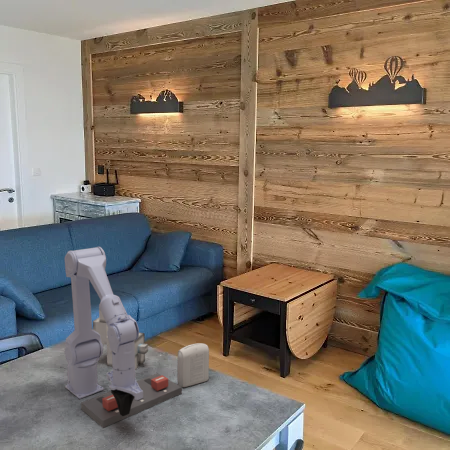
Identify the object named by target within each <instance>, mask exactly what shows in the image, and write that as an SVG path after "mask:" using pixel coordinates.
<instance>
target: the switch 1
mask: <svg viewBox="0 0 450 450" xmlns="http://www.w3.org/2000/svg"><path fill="white" fill-rule="evenodd" d="M102 401H103V407H104V408H105V409H106V410H107V411H110V410H113V409H115V408H117V407H118V405H117V402H116V400H115V398H114V396H113V395H110V396H108V397H105V398H103V399H102Z"/></svg>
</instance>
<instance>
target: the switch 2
mask: <svg viewBox="0 0 450 450" xmlns="http://www.w3.org/2000/svg"><path fill="white" fill-rule="evenodd" d="M160 375H161V376H159V377H156V378H154V379H151V387H152V388H154V389H155V390H157V391H158V390H161V389H163V388H165V387H168V379H169V378H168V377H166V376H164V375H162V374H160Z"/></svg>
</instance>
